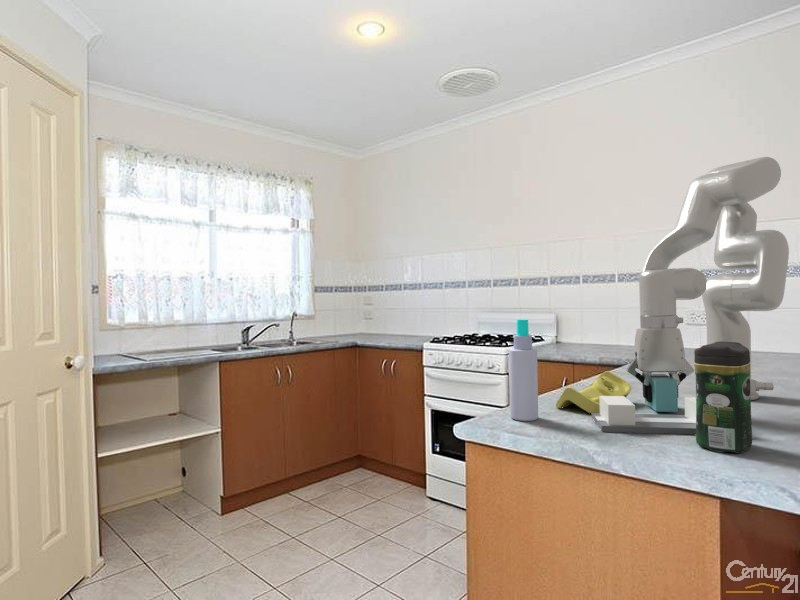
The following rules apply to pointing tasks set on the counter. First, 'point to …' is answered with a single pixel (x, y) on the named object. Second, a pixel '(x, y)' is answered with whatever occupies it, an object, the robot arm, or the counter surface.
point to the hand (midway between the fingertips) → (660, 400)
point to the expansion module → (663, 393)
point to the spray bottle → (523, 375)
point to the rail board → (643, 418)
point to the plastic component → (595, 392)
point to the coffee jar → (723, 397)
